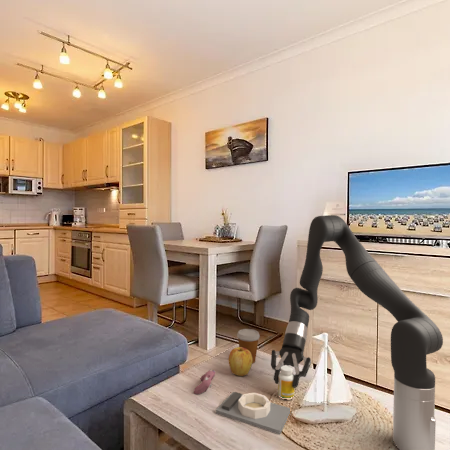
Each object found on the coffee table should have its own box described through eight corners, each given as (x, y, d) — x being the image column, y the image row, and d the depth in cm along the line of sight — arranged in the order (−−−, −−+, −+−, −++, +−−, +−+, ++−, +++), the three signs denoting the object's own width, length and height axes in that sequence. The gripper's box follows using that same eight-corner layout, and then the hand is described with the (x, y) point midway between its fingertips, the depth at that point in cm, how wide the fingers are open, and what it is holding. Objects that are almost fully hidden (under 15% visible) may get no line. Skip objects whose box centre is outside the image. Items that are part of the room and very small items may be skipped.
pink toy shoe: (203, 400, 106) (213, 383, 106) (192, 393, 107) (201, 375, 106) (210, 385, 116) (219, 369, 115) (199, 379, 117) (208, 362, 116)
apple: (252, 369, 126) (253, 344, 126) (251, 380, 117) (251, 353, 117) (229, 367, 127) (230, 342, 127) (226, 378, 118) (227, 351, 118)
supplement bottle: (274, 394, 108) (275, 366, 108) (287, 390, 110) (287, 363, 110) (285, 402, 103) (285, 373, 103) (297, 398, 106) (298, 369, 106)
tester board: (291, 411, 98) (292, 400, 98) (279, 434, 88) (280, 421, 88) (233, 394, 107) (233, 384, 107) (215, 413, 97) (216, 401, 97)
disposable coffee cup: (258, 367, 128) (259, 337, 128) (235, 365, 130) (235, 335, 130) (259, 357, 138) (260, 329, 138) (237, 355, 139) (238, 327, 139)
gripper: (273, 328, 116) (261, 375, 106) (314, 335, 110) (305, 386, 99) (278, 338, 121) (266, 384, 111) (316, 346, 115) (308, 395, 104)
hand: (284, 384), depth 105 cm, fingers closed on supplement bottle, 5 cm apart
